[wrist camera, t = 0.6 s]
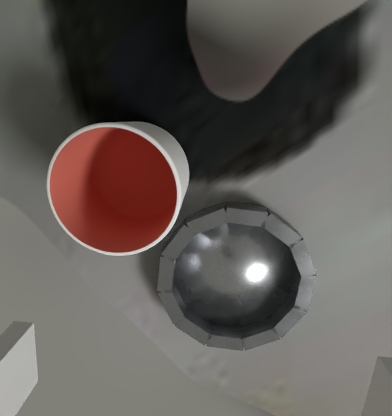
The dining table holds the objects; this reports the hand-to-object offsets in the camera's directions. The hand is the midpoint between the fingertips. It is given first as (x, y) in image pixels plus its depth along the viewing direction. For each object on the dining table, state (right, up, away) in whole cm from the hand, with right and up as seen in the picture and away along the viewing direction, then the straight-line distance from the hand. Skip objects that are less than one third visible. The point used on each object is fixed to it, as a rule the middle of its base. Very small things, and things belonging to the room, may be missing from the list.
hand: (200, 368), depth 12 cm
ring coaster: (+4, -1, +23) cm, 23 cm away
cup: (-6, +10, +21) cm, 24 cm away
